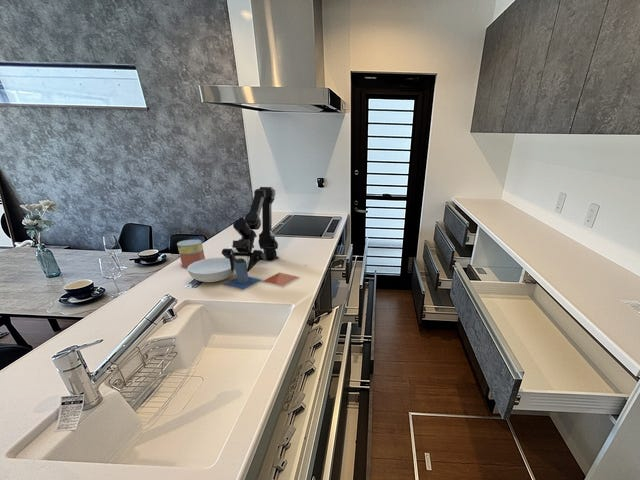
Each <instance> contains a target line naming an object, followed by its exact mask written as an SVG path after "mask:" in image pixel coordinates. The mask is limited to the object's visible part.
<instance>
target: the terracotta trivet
mask: <svg viewBox="0 0 640 480" xmlns="http://www.w3.org/2000/svg"><path fill="white" fill-rule="evenodd" d="M298 278H299V276H296V275H293V274H292V275H291V274H287V273H282V272H278V273H275V274H273V275H272V276H270V277H268V278H266V279H264V280H263V282H264V283H268V284H272V285H276V286H280V287H284V286H286V285H288V284H290V283H291V282H293V281H294V280H297V279H298Z"/></svg>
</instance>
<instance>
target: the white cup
mask: <svg viewBox="0 0 640 480" xmlns="http://www.w3.org/2000/svg"><path fill="white" fill-rule="evenodd" d="M229 249H232V250H233V251H234V252H238V250H236V248H233V244H231V245H230V246H229ZM235 258H236V259H244V260H245V261H246V264H247V265H248V264H249V261H248V257H247V256H236V257H235Z"/></svg>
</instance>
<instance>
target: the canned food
mask: <svg viewBox="0 0 640 480" xmlns="http://www.w3.org/2000/svg"><path fill="white" fill-rule="evenodd" d="M176 246H177V250H178V253H179V259H180V262H181V267H182V268H185V269H187V268H188V266H189V265H190V264H192V263H194V262H196V261H200V260H203V259H206V256H205V252H204V247H203V240H201V239H196V238H195V239H193V238H192V239H184V240H181V241H180V240H179V241H178V242H177V243H176Z"/></svg>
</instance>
